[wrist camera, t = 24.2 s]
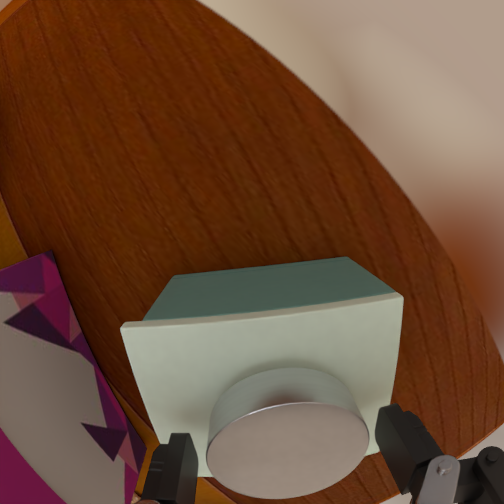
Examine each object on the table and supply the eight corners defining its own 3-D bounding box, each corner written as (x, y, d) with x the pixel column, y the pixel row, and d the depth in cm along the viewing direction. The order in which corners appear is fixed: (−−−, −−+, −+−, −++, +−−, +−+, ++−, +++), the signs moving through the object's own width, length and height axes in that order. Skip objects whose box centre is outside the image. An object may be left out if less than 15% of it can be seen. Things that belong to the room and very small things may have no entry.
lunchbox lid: (176, 468, 14) (174, 476, 14) (124, 321, 12) (118, 328, 11) (375, 444, 14) (379, 452, 14) (397, 291, 12) (404, 296, 12)
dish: (199, 364, 12) (189, 411, 9) (353, 345, 12) (380, 386, 9) (223, 459, 13) (220, 503, 10) (344, 443, 13) (359, 484, 10)
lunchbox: (200, 401, 21) (189, 468, 14) (173, 275, 19) (141, 320, 12) (344, 383, 21) (375, 444, 14) (347, 256, 19) (396, 290, 12)
